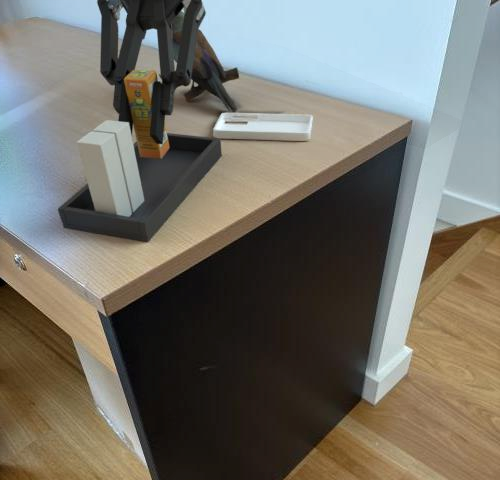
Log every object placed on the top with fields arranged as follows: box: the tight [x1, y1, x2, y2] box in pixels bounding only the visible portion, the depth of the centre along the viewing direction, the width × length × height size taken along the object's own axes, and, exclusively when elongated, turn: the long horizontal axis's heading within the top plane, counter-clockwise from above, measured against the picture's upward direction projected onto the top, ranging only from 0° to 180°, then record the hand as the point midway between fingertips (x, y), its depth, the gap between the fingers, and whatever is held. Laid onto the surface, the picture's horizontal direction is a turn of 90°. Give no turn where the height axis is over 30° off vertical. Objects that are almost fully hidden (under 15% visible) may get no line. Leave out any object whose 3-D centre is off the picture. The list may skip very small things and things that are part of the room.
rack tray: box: [57, 132, 223, 243], centre depth 68 cm, size 12×24×3 cm, turn 161°
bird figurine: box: [172, 10, 240, 113], centre depth 89 cm, size 13×10×20 cm
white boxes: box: [76, 119, 144, 217], centre depth 60 cm, size 3×6×10 cm, turn 161°
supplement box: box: [124, 69, 170, 159], centre depth 64 cm, size 3×3×10 cm
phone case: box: [212, 112, 314, 142], centre depth 81 cm, size 7×1×15 cm
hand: (140, 138), depth 63 cm, fingers closed on supplement box, 3 cm apart
